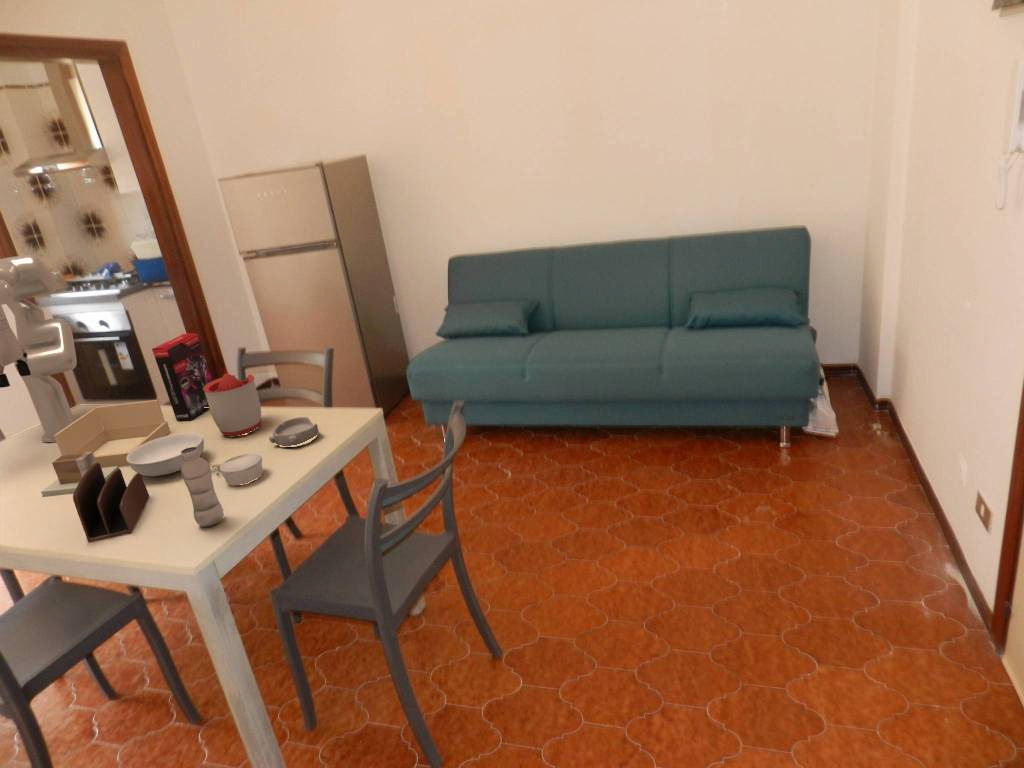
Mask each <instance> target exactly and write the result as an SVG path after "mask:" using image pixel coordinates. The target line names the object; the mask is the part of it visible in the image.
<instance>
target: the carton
mask: <svg viewBox="0 0 1024 768" xmlns="http://www.w3.org/2000/svg"><path fill="white" fill-rule="evenodd" d="M169 434H171V429H170V426H169V423H168V421H166V420H165V417H164V414H163V411H162V408H161V404H160V402H159V399H153V400H145V401H137V402H135V401H134V402H127V403H119V404H110V405H102V406H97V407H95V408H92V409H91V410H89V411H87V412H86V413H85V414H84V415H81V417H80V418H79V419H77V420H76V421H74V422H73V423H71V424H70V425H69V426H67V427H66V428H64V429H63V430H61V431H60V432H58V433H57V434H55V435H54V437H55V439H56V442H55V443H56V445H57V447H58V449H59V452H60V456H62V455H67V454H76V453H85V452H93V453H94V452H96V451H97V450H98V449H99V447H100V448H101V447H102V446H103V445H104V444H107V442H109V441H115V440H124V439H125V438H126V439H133V438H134V439H135V438H140V437H141V436H142V437H145V438H144V439H142V440H141V441H140V442H139V443H138V444H136V445H135V446H134V447H132V449H130V451H128V452H127V451H125V452H119V453H117V452H116V453H108V454H100V455H94V457H95V460H96V463H99V464H100V466H101V468H107V467H115V466H118V467H119V468H121V467H128V466H129V464H128V462H127V460H126V458H127V455H128V454H129V453H130V452H131V451H132V450H134V449H135V448H137V447H139V446H141V445H143V444H145V443H147V442H149V441H152V440H155V439H158V438H161V437H165V436H169ZM126 439H125V440H126ZM129 467H130V466H129Z"/></svg>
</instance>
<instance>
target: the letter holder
mask: <svg viewBox="0 0 1024 768" xmlns="http://www.w3.org/2000/svg"><path fill="white" fill-rule="evenodd" d="M149 498H150V494H149V492H148V489H147V486H146V484H145V482H144V479H143V476H142V474H140V473H137V472H136V474H135V475H134V476H133V477H132V478H131V480H130V481H129V483H128V485H127V483H126V481H125V478H124V476H123V472H122V470H121V469H120V468H119V469H117V470H115V471H114V472H113V473H112V474H111V476H110V477H109V478H108V479H107V481H105V478H104V475H103V472H102V469H101V466H100V464H99V463H95V464H94V465H93V466H91V467H90V468H89V470H88V471H87V472H86V473H85V475H84V476H83V478H82V479H81V481H80V482H79V484H78V486H77V488H76V489H75V491H74V493H72V499H73V503H74V506H75V509H76V513H77V515H78V517H79V520H80V522H81V526H82V529H83V532H84V534H85V537H86V540H87V543H92V542H98V541H101V540H105V539H110V538H115V537H119V536H124V535H127V534H128V535H129V534H131V533H133V530H134V527H135V526H136V524H137V522H138V521H139V518H140V516H141V515H142V512H143V510H144V508H145V506H146V505H147V501H148V500H149Z"/></svg>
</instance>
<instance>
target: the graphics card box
mask: <svg viewBox="0 0 1024 768" xmlns="http://www.w3.org/2000/svg"><path fill="white" fill-rule="evenodd" d="M151 351H152V353H153V357H154V358H155V362H156V366H157V368H158V371H159V373H160V377H161V379H162V383H163V386H164V387H165V392H166V394H167V397H168V401H169V402H170V405H171V409H172V411H173V414H174V417H175V420H176V422H180V421H181V422H182V421H183V422H184V421H186V422H187V421H192V420H194V419H195V418H197V417H199V416H200V415H201V414H203V413H204V412H206V411H207V410H210V408H204V407H209V405H208V401H207V398H206V395H205V391H204V390H203V387H204V386H205V385H206V384H208V383H209V382H211V381H213V378H212V375H211V372H210V368H209V366H208V362H207V359H206V357H205V353H204V350H203V347H202V343H201V341H200V337H199V334H198V333H193V332H191V333H181V334H180V335H177V336H176V337H175V338H172V339H170V340H167V341H166V342H164V343H161V344H159V345H156V346H154V347H152V348H151Z"/></svg>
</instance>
